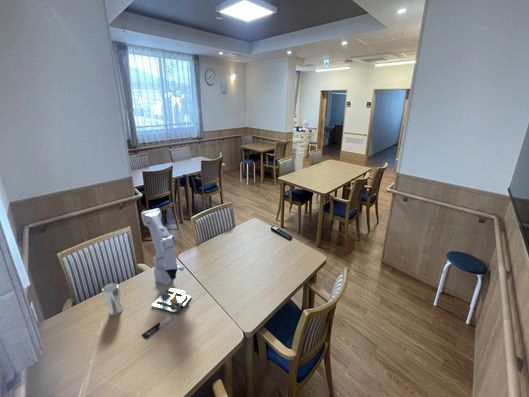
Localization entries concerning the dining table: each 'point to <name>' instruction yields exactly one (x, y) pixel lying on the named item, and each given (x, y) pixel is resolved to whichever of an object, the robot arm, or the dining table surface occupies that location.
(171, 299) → the grey orange block
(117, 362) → the dining table surface
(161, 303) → the heatsink plate
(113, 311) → the beer glass
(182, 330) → the dining table surface
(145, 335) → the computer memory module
